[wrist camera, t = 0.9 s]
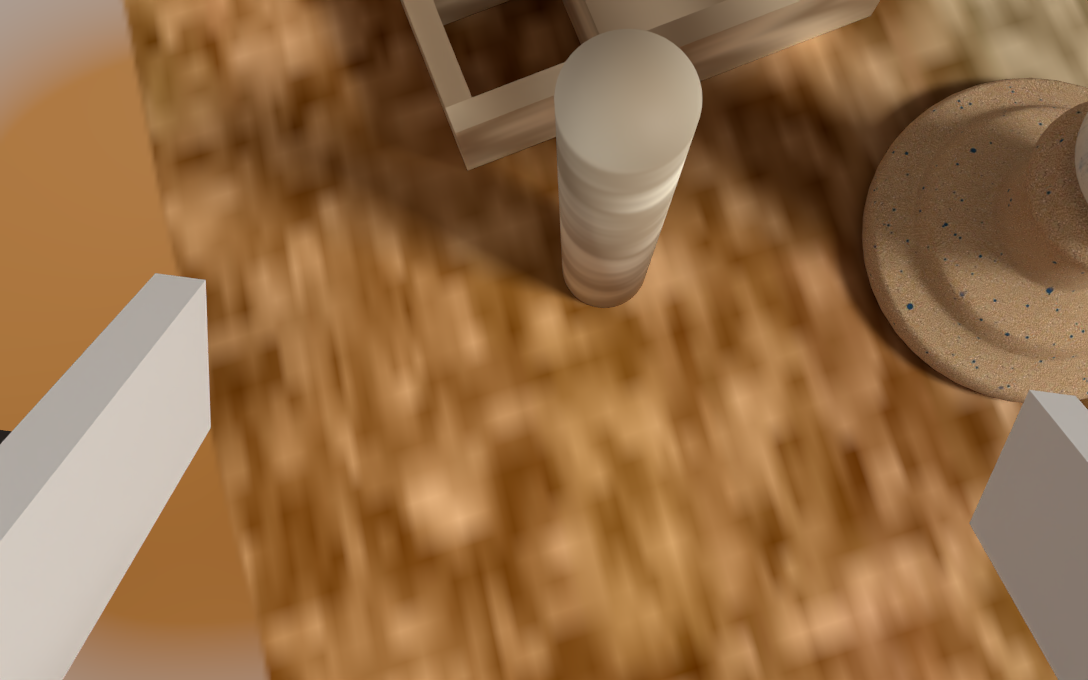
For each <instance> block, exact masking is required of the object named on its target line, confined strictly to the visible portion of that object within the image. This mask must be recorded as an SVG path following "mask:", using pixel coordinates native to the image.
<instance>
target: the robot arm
mask: <svg viewBox="0 0 1088 680" xmlns="http://www.w3.org/2000/svg"><path fill="white" fill-rule="evenodd" d="M210 428H211V421H210V392H209V363H208V334H207V305H206V280H202V279H194V278H187V277H179V276H172V275H164V274H157V273H155V274H154V276H153V277H152V278H151V279H150V280H149V281H148V282H147V283H146V284H145V285H144V287H143V288H142V289H141V290H140V291H139V292H138V293H137V294H136V295H135V297H134V298H133V299H132V300H131V301H130V302H129V303H128V304H127V305H126V306H125V307H124V309H123V310H122V311H121V312H120V313H119V314H118V315H117V316H116V318H115V319H114V320H113V321H112V322H111V323H110V324H109V325H108V326H107V328H106V329H104V331H103V332H102V333H101V334H100V335H99V336H98V337H97V338H96V339H95V341H94V342H93V343H92V344H91V345H90V346H89V347H88V348H87V349H86V351H85V352H84V353H83V354H82V355H81V356H80V357H79V358H78V359H77V361H75V363H74V364H73V365H72V366H71V367H70V368H69V369H68V370H67V371H66V372H65V374H64V375H63V376H62V377H61V378H60V379H59V380H58V381H57V382H56V383H55V385H54V386H53V387H52V388H51V389H50V390H49V391H48V392H47V394H46V395H45V396H44V397H43V398H42V399H41V400H40V401H39V402H38V404H36V406H35V407H34V408H33V409H32V410H31V411H30V412H29V413H28V414H27V415H26V417H25V418H24V419H23V420H22V421H21V422H20V423H19V424H18V425H17V426H16V428H15V429H14V430H13V431H12V432H11V431H3V430H0V680H63V678H64V677H65V675H66V673H67V672H68V670H69V668H70V666H71V665H72V663H73V661H74V659H75V658H76V656H77V654H78V652H79V651H80V649H81V648H82V646H83V644H84V643H85V641H86V639H87V637H88V636H89V634H90V632H91V631H92V629H93V627H94V625H95V624H96V622H97V620H98V619H99V617H100V615H101V614H102V612H103V610H104V608H105V607H106V605H107V603H108V602H109V600H110V598H111V597H112V595H113V593H114V592H115V590H116V588H117V586H118V585H119V583H120V581H121V580H122V578H123V576H124V574H125V573H126V571H127V569H128V568H129V566H130V564H131V563H132V561H133V559H134V557H135V556H136V554H137V552H138V550H139V549H140V547H141V546H142V544H143V542H144V540H145V539H146V537H147V535H148V534H149V532H150V530H151V528H152V527H153V525H154V523H155V521H156V520H157V518H158V517H159V515H160V513H161V511H162V510H163V508H164V506H165V505H166V503H167V501H168V499H169V498H170V496H171V494H172V493H173V491H174V489H175V488H176V486H177V484H178V483H179V481H180V479H181V477H182V476H183V474H184V472H185V471H186V469H187V467H188V465H189V464H190V462H191V460H192V459H193V457H194V455H195V454H196V452H197V450H198V448H199V446H200V445H201V443H202V442H203V440H204V438H205V437H206V435H207V433H208V431H209V430H210ZM970 525H971V527H972V529H973V531H974V532H975V534H976V536H977V538H978V539H979V541H980V543H981V545H982V546H983V548H984V550H985V552H986V553H987V555H988V557H989V559H990V560H991V562H992V564H993V566H994V567H995V569H996V571H997V573H998V574H999V576H1000V578H1001V580H1002V582H1003V583H1004V585H1005V587H1006V589H1007V590H1008V592H1009V594H1010V596H1011V597H1012V599H1013V601H1014V603H1015V604H1016V606H1017V608H1018V610H1019V611H1020V613H1021V615H1022V617H1023V618H1024V620H1025V622H1026V624H1027V625H1028V627H1029V629H1030V631H1031V632H1032V634H1033V636H1034V638H1035V640H1036V641H1037V643H1038V645H1039V647H1040V648H1041V650H1042V652H1043V654H1044V655H1045V657H1046V659H1047V661H1048V662H1049V664H1050V666H1051V668H1052V669H1053V671H1054V673H1055V675H1056V676H1057V678H1058V680H1088V410H1087V408H1086V407H1085V406H1084V405H1083V404H1082V403H1081V402H1080V401H1079V399H1078V398H1077V397H1076V396H1073V395H1065V394H1058V393H1050V392H1043V391H1035V390H1029V392H1028V394H1027V396H1026V398H1025V401H1024V403H1023V405H1022V407H1021V409H1020V412H1019V414H1018V416H1017V418H1016V421H1015V423H1014V425H1013V427H1012V430H1011V432H1010V434H1009V436H1008V438H1007V441H1006V443H1005V445H1004V447H1003V450H1002V452H1001V454H1000V456H999V459H998V461H997V463H996V465H995V467H994V470H993V472H992V474H991V476H990V479H989V481H988V483H987V485H986V488H985V490H984V492H983V494H982V496H981V499H980V501H979V503H978V505H977V508H976V510H975V512H974V514H973V517H972V519H971V521H970Z"/></svg>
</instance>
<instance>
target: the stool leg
mask: <svg viewBox="0 0 1088 680" xmlns="http://www.w3.org/2000/svg"><path fill="white" fill-rule="evenodd" d="M554 104H555V125H556V146H557V167H558V188H559V210H560V231H561V252H562V272H563V277H564V280H565V283H566V285H567V287H568V288H569V290H570V291H571V292H572V294H573V295H574V296H575V297H577V298H578V299H579V300H580V301H582V302H584V303H586V304H588V305H591V306H594V307H600V308H609V307H615V306H618V305H621V304H623V303H625V302H627V301H628V300H630V299H631V298H632V297H633V296H634V295H635V294H636V293H637V292H638V290H639V289H640V288H641V286H642V284H643V281H644V278H645V275H646V273H647V270H648V267H649V264H650V261H651V258H652V255H653V252H654V249H655V246H656V243H657V241H658V238H659V235H660V232H661V229H662V226H663V223H664V220H665V217H666V214H667V212H668V209H669V206H670V203H671V200H672V197H673V194H674V191H675V188H676V185H677V182H678V180H679V177H680V174H681V171H682V168H683V165H684V162H685V159H686V156H687V153H688V150H689V148H690V145H691V142H692V139H693V136H694V133H695V130H696V127H697V124H698V121H699V118H700V115H701V110H702V88H701V84H700V80H699V77H698V74H697V72H696V70H695V68H694V66H693V64H692V62H691V61H690V60H689V58H688V57H687V56H686V55H685V53H684V52H683V51H682V50H681V49H680V48H678V47H677V46H676V45H675V44H674V43H672V42H671V41H669V40H667V39H666V38H664V37H662V36H660V35H657V34H655V33H652V32H649V31H644V30H639V29H618V30H612V31H608V32H605V33H602V34H599V35H597V36H595V37H593V38H591V39H589V40H588V41H586V42H584V43H583V44H582V45H581V46H579V47H578V48H577V49H576V50H575V51H574V52H573V53H572V54H571V55H570V56H569V58H568V59H567V60H566V62H565V63H564V65H563V67H562V69H561V71H560V73H559V76H558V79H557V82H556V87H555V95H554Z"/></svg>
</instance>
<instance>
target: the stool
mask: <svg viewBox="0 0 1088 680" xmlns="http://www.w3.org/2000/svg"><path fill="white" fill-rule="evenodd" d="M507 1H509V0H401V3H402V6H403V8H404V11H405V13H406V16H407V18H408V21H409V23H410V26H411V28H412V31H413V33H414V36H415V38H416V41H417V44H418V46H419V49H420V51H421V54H422V56H423V59H424V61H425V64H426V66H427V69H428V71H429V74H430V76H431V79H432V82H433V84H434V87H435V89H436V92H437V94H438V97H439V99H440V102H441V104H442V107H443V109H444V112H445V115H446V117H447V120H448V122H449V125H450V127H451V130H452V132H453V135H454V137H455V140H456V142H457V145H458V147H459V150H460V153H461V155H462V158H463V160H464V163H465V165H466V168H467V170H471V169H473V168H476V167H479V166H481V165H484V164H486V163H489V162H492V161H494V160H497V159H499V158H502V157H505V156H507V155H510V154H512V153H515V152H518V151H520V150H523V149H525V148H528V147H531V146H533V145H536V144H538V143H541V142H544V141H546V140H549V139H551V138H554V137H556V125H555V104H554V95H555V87H556V82H557V79H558V76H559V73H560V71H561V69H562V67H563V65H564V63H565V62H564V63H561V64H558V65H556V66H553V67H551V68H548V69H545V70H543V71H540V72H538V73H535V74H532V75H530V76H527V77H524V78H522V79H519V80H517V81H514V82H511V83H509V84H506V85H504V86H501V87H498V88H496V89H493V90H490V91H488V92H485V93H483V94H480V95H477V96H475V97H472V96H471V94H470V91H469V89H468V86H467V84H466V81H465V79H464V76H463V74H462V72H461V69H460V67H459V64H458V62H457V59H456V57H455V54H454V52H453V49H452V47H451V44H450V42H449V39H448V37H447V34H446V32H445V29H444V27H443V25H446V24H449V23H451V22H454V21H456V20H459V19H462V18H464V17H467V16H470V15H472V14H475V13H478V12H480V11H483V10H485V9H488V8H491V7H493V6H496V5H499V4H501V3H504V2H507ZM562 1H563V4H564V6H565V8H566V11H567V13H568V15H569V18H570V20H571V22H572V25H573V27H574V29H575V32H576V34H577V37H578V39H579V41H580V44H581V45H582V44H583V43H584V42H586V41H588V40H589V39H591V38H593V37H595V36H597V35H599V34H602V33H605V32H608V31H612V30H618V29H639V30H644V31H649V32H652V33H655V34H657V35H660V36H662V37H664V38H666V39H667V40H669V41H671V42H672V43H674V44H675V45H676V46H677V47H678V48H680V49H681V50H682V51H683V52H684V53H685V55H686V56H687V57H688V58H689V60H690V61H691V62H692V64H693V66H694V68H695V70H696V72H697V74H698V77H699V80H700V81H702V80H705V79H707V78H710V77H713V76H715V75H718V74H720V73H723V72H726V71H728V70H731V69H733V68H736V67H739V66H741V65H744V64H746V63H749V62H752V61H754V60H757V59H759V58H762V57H765V56H767V55H770V54H772V53H775V52H778V51H780V50H783V49H785V48H788V47H791V46H793V45H796V44H798V43H801V42H804V41H806V40H809V39H811V38H814V37H817V36H819V35H822V34H824V33H827V32H830V31H832V30H835V29H837V28H840V27H843V26H845V25H848V24H850V23H853V22H856V21H858V20H861V19H863V18H866V17H869V16H871V14H872V13H873V11H874V9H875V8H876V6H877V5H878V3H879V1H880V0H562Z"/></svg>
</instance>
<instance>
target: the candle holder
mask: <svg viewBox="0 0 1088 680" xmlns="http://www.w3.org/2000/svg"><path fill="white" fill-rule="evenodd" d="M862 244H863V254H864V263H865V267H866V270H867V274H868V278H869V282H870V285H871V288H872V291H873V293H874V295H875V297H876V299H877V302H878V304H879V306H880V308H881V311H882V312H883V314H884V315H885V317H886V318H887V320H888V321H889V323H890V325H891V326H892V328H893V329H894V331H895V332H896V333H897V335H898V336H899V337H900V338H901V339H902V340H903V341H904V342H905V344H906V345H907V346H908V347H909V348H910V349H911V350H912V351H913V352H914V353H915V354H916V355H917V356H918V357H920V358H921V359H922V360H923V361H924V362H926V363H927V364H928V365H929V366H930V367H932V368H933V369H934V370H936V371H937V372H939V373H941V374H942V375H944V376H946V377H947V378H949V379H951V380H952V381H954V382H955V383H957V384H960V385H962V386H965V387H967V388H969V389H972V390H974V391H976V392H979V393H981V394H983V395H987V396H991V397H995V398H999V399H1003V400H1007V401H1012V402H1022V403H1024V401H1025V398H1026V396H1027V394H1028V392H1029V390H1035V391H1043V392H1050V393H1058V394H1065V395H1073V396H1076V397H1077V398H1078V399H1079V400H1081V399H1086V398H1088V89H1087V88H1085V87H1082V86H1079V85H1074V84H1070V83H1066V82H1061V81H1057V80H1048V79H1036V78H1022V79H1005V80H998V81H993V82H989V83H984V84H979V85H975V86H973V87H970V88H968V89H965V90H962V91H960V92H957V93H954V94H952V95H950V96H949V97H947V98H945V99H943V100H942V101H940V102H938V103H936V104H935V105H933V106H931V107H930V108H928V109H927V110H926V111H925V112H923V113H922V114H921V115H920V116H918V117H917V118H916V119H915V120H914V121H912V122H911V123H910V124H909V125H908V126H907V127H906V128H905V129H904V130H903V132H902V133H901V134H900V135H899V136H898V137H897V138H896V139H895V141H894V142H893V143H892V145H891V146H890V148H889V149H888V151H887V152H886V154H885V156H884V157H883V159H882V160H881V162H880V164H879V165H878V168H877V170H876V172H875V175H874V177H873V180H872V182H871V184H870V187H869V190H868V195H867V199H866V203H865V208H864V213H863V228H862Z"/></svg>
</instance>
